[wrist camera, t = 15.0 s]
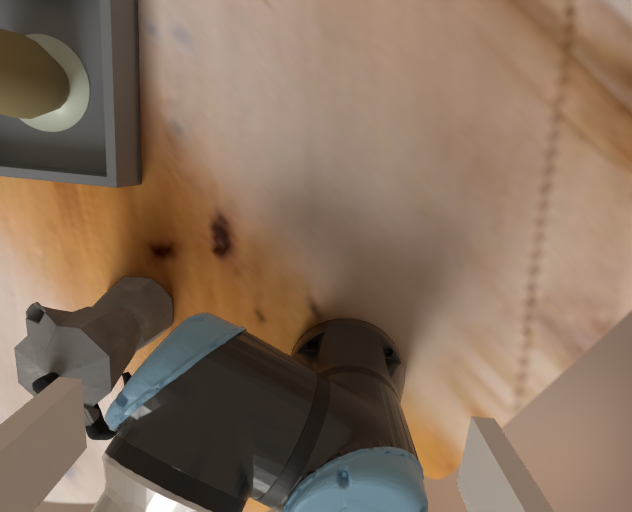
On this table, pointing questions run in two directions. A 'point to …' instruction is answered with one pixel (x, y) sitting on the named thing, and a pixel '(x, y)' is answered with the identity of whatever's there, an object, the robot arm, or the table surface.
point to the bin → (79, 94)
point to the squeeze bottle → (29, 78)
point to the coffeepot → (93, 343)
